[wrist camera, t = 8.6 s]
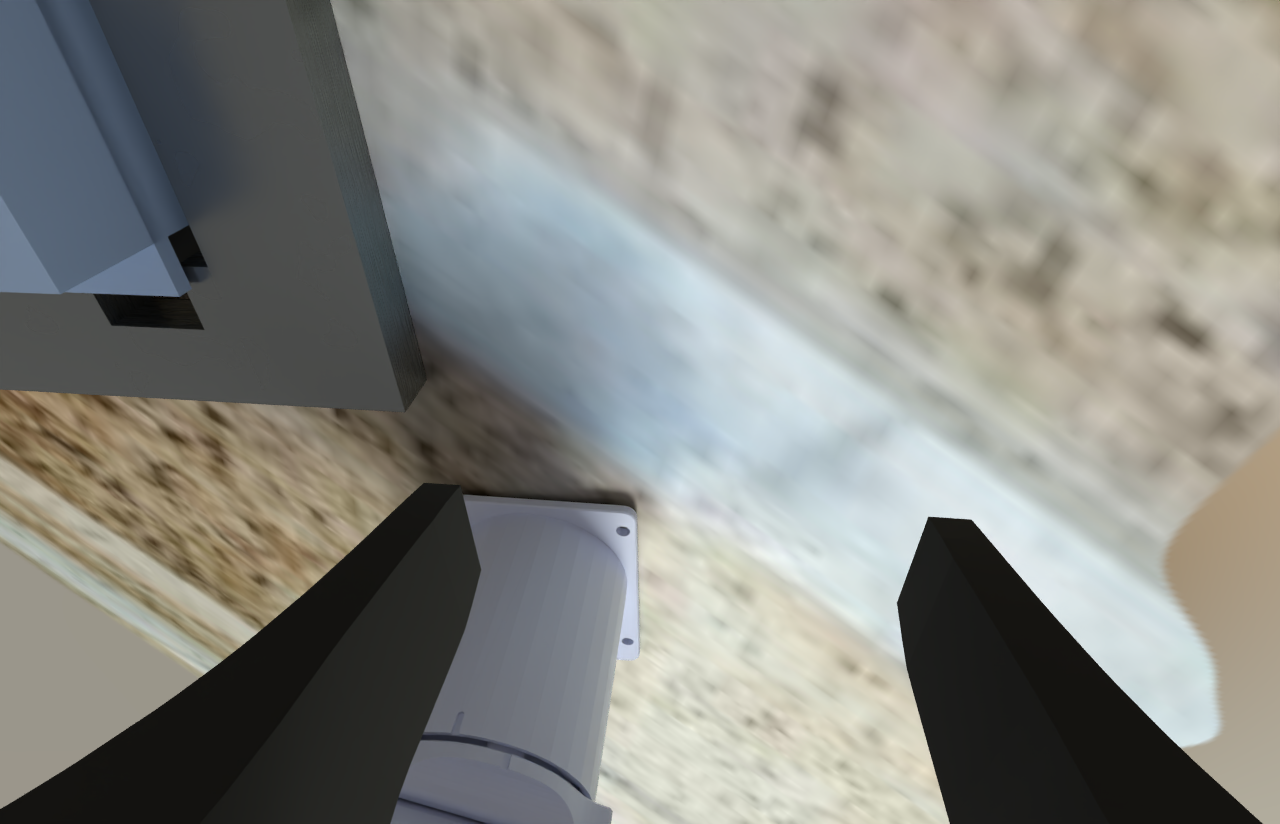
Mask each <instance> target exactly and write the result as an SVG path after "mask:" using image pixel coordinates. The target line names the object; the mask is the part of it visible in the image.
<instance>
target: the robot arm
mask: <svg viewBox="0 0 1280 824" xmlns="http://www.w3.org/2000/svg"><path fill="white" fill-rule="evenodd" d="M622 526H623V527H627V528H621V527H622ZM897 606H898V613H899V620H900V627H901V635H902V641H903V647H904V654H905V660H906V666H907V671H908V674H909V678H910V682H911V686H912V689H913V693H914V697H915V700H916V704H917V708H918V711H919V715H920V719H921V722H922V726H923V729H924V733H925V736H926V740H927V744H928V747H929V751H930V754H931V758H932V761H933V765H934V769H935V772H936V776H937V779H938V783H939V786H940V790H941V793H942V797H943V801H944V804H945V808H946V811H947V815H948V818H949V822H950V824H1262V823H1261V822H1260V821H1259V820H1258V819H1257V818H1256V817H1255V816H1254V815H1252V814H1251V813H1250V812H1249V811H1248V810H1247V809H1246V808H1245V807H1244V806H1243V805H1241V804H1240V803H1239V802H1238V801H1237V800H1236V799H1235V798H1234V797H1233V796H1232V795H1231V794H1229V793H1228V792H1227V791H1226V790H1225V789H1224V788H1223V787H1222V786H1221V785H1220V784H1218V783H1217V782H1216V781H1215V780H1214V779H1213V778H1212V777H1211V776H1210V775H1209V774H1208V773H1206V772H1205V771H1204V770H1203V769H1202V768H1201V767H1200V766H1199V765H1198V764H1197V763H1195V762H1194V761H1193V760H1192V759H1191V758H1190V757H1189V756H1188V755H1187V754H1186V753H1185V752H1184V751H1183V750H1182V749H1181V748H1180V747H1179V746H1178V745H1177V744H1176V743H1175V742H1174V741H1172V740H1171V739H1170V738H1169V737H1168V736H1167V735H1166V734H1165V733H1164V732H1163V731H1162V730H1161V729H1160V728H1159V727H1158V726H1157V725H1156V724H1155V723H1154V722H1153V721H1152V720H1151V719H1150V718H1149V717H1148V716H1147V715H1146V714H1145V713H1144V712H1143V711H1142V710H1141V709H1140V708H1139V707H1138V705H1137V704H1136V703H1135V702H1134V701H1133V700H1132V699H1131V698H1130V697H1129V696H1128V695H1127V694H1126V693H1125V692H1124V691H1123V690H1122V689H1121V688H1120V687H1119V686H1118V685H1117V684H1116V683H1115V682H1114V681H1113V680H1112V679H1111V678H1110V677H1109V676H1108V675H1107V674H1106V673H1105V671H1104V670H1103V669H1102V668H1101V667H1100V666H1099V665H1098V664H1097V663H1096V662H1095V661H1094V660H1093V659H1092V657H1091V656H1090V655H1089V654H1088V653H1087V652H1086V651H1085V650H1084V649H1083V648H1082V646H1081V645H1080V644H1079V643H1078V642H1077V641H1076V640H1075V639H1074V638H1073V637H1072V635H1071V634H1070V633H1069V632H1068V631H1067V630H1066V629H1065V628H1064V627H1063V625H1062V624H1061V623H1060V622H1059V621H1058V620H1057V619H1056V618H1055V617H1054V615H1053V614H1052V613H1051V612H1050V611H1049V610H1048V609H1047V607H1046V606H1045V605H1044V604H1043V603H1042V602H1041V601H1040V599H1039V598H1038V597H1037V596H1036V595H1035V594H1034V592H1033V591H1032V590H1031V589H1030V588H1029V587H1028V585H1027V584H1026V583H1025V582H1024V581H1023V580H1022V578H1021V577H1020V576H1019V575H1018V574H1017V573H1016V571H1015V570H1014V569H1013V568H1012V567H1011V565H1010V564H1009V563H1008V562H1007V561H1006V560H1005V558H1004V557H1003V556H1002V555H1001V554H1000V553H999V551H998V550H997V549H996V548H995V547H994V545H993V544H992V543H991V542H990V541H989V540H988V538H987V537H986V536H985V535H984V534H983V533H982V531H981V530H980V529H979V528H978V527H977V526H976V524H975V523H974V522H973V521H972V520H969V519H954V518H939V517H928V520H927V522H926V525H925V528H924V531H923V533H922V536H921V539H920V542H919V544H918V547H917V550H916V552H915V555H914V558H913V561H912V563H911V566H910V569H909V572H908V574H907V577H906V580H905V583H904V585H903V588H902V591H901V594H900V596H899V599H898V602H897ZM639 654H640V620H639V576H638V531H637V514H636V512H635V511H634V510H633V509H632V508H630V507H628V506H623V505H608V504H593V503H579V502H564V501H550V500H535V499H520V498H506V497H491V496H476V495H463V494H462V490H461V486H460V485H447V484H432V483H423V484H422V485H421V486H420V487H419V488H418V489H417V490H416V491H415V492H413V493H412V494H411V495H410V496H409V497H408V498H407V499H406V500H405V501H404V502H403V503H402V504H400V505H399V506H398V507H397V508H396V509H395V510H394V511H393V512H392V513H391V514H390V515H389V516H388V517H387V518H386V519H385V520H384V521H383V522H382V523H380V524H379V525H378V526H377V527H376V528H375V529H374V530H373V531H372V532H371V533H370V534H369V535H368V536H367V537H366V538H365V539H364V540H362V541H361V542H360V543H359V544H358V545H357V546H356V547H355V548H354V549H353V550H352V551H351V552H350V553H349V554H347V555H346V556H345V557H344V558H343V559H342V560H341V561H340V562H339V563H338V564H336V565H335V566H334V567H333V568H332V569H331V570H330V571H329V572H328V573H327V574H326V575H324V576H323V577H322V578H321V579H320V580H319V581H318V582H317V583H316V584H315V585H313V586H312V587H311V588H310V589H309V590H308V591H307V592H305V593H304V594H303V595H302V596H301V597H300V598H299V599H297V600H296V601H295V602H294V603H293V604H291V605H290V606H289V607H288V608H287V609H285V610H284V611H283V612H282V613H281V614H280V615H278V616H277V617H276V618H275V619H274V620H272V621H271V622H270V623H269V624H268V625H267V626H265V627H264V628H263V629H262V630H261V631H259V632H258V633H257V634H256V635H255V636H253V637H252V638H251V639H250V640H248V641H247V642H246V643H245V644H243V645H242V646H241V647H240V648H238V649H237V650H236V651H235V652H233V653H232V654H231V655H230V656H228V657H227V658H226V659H224V660H223V661H222V662H221V663H219V664H218V665H217V666H215V667H214V668H213V669H211V670H210V671H209V672H207V673H206V674H204V675H203V676H202V677H200V678H199V679H198V680H196V681H195V682H194V683H192V684H191V685H190V686H188V687H187V688H185V689H184V690H183V691H182V692H180V693H179V694H177V695H176V696H175V697H173V698H172V699H170V700H169V701H168V702H166V703H165V704H163V705H162V706H160V707H159V708H158V709H156V710H155V711H153V712H152V713H150V714H149V715H147V716H146V717H144V718H143V719H141V720H140V721H138V722H136V723H135V724H134V725H132V726H130V727H129V728H128V729H126V730H125V731H123V732H121V733H120V734H119V735H117V736H115V737H114V738H112V739H111V740H109V741H108V742H106V743H105V744H104V745H102V746H100V747H99V748H97V749H96V750H94V751H93V752H91V753H90V754H88V755H87V756H85V757H84V758H83V759H81V760H79V761H78V762H76V763H75V764H73V765H72V766H70V767H69V768H67V769H65V770H64V771H62V772H61V773H59V774H57V775H56V776H54V777H52V778H51V779H49V780H48V781H46V782H44V783H43V784H41V785H40V786H38V787H36V788H35V789H33V790H31V791H30V792H28V793H26V794H25V795H23V796H22V797H20V798H19V799H17V800H15V801H13V802H12V803H10V804H8V805H7V806H5V807H3V808H2V809H0V824H611V820H612V812H613V811H612V810H611V808H609V807H606V806H603V805H600V804H598V803H596V802H595V799H596V793H597V786H598V779H599V773H600V766H601V759H602V753H603V746H604V740H605V733H606V726H607V720H608V713H609V707H610V700H611V693H612V687H613V680H614V674H615V667H616V660H617V659H618V660H635V659H637V658H638V657H639Z"/></svg>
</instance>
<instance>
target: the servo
mask: <svg viewBox="0 0 1280 824" xmlns="http://www.w3.org/2000/svg"><path fill="white" fill-rule="evenodd" d="M199 251H200V248H199V246H198V244H197V242H196V239H195V237H194V235H193V233H192V230H191V228H190V226H189V224H188V221H187V219H186V217H185V215H184V212H183V210H182V208H181V206H180V203H179V201H178V199H177V197H176V194H175V192H174V190H173V188H172V185H171V183H170V181H169V179H168V177H167V174H166V172H165V170H164V168H163V165H162V163H161V161H160V159H159V156H158V154H157V152H156V150H155V147H154V145H153V143H152V141H151V138H150V136H149V134H148V132H147V129H146V127H145V125H144V123H143V120H142V118H141V116H140V114H139V111H138V109H137V107H136V105H135V102H134V100H133V98H132V96H131V94H130V91H129V89H128V87H127V85H126V82H125V80H124V78H123V76H122V73H121V71H120V69H119V67H118V64H117V62H116V60H115V58H114V55H113V53H112V51H111V49H110V46H109V44H108V42H107V40H106V37H105V35H104V33H103V31H102V28H101V26H100V24H99V22H98V19H97V17H96V15H95V13H94V10H93V8H92V6H91V4H90V2H89V0H0V292H17V293H42V294H62V293H64V292H70V293H96V294H121V295H147V296H172V297H180V296H182V295H183V294H185V293H186V292H188V291H189V290H191V289H192V288H191V286H190V283H189V281H188V279H187V277H186V275H185V273H184V271H183V269H182V266H181V264H180V262H182V261H184V260H185V259H187V258H189V257H190V256H192V255H194V254H195V253H197V252H199Z"/></svg>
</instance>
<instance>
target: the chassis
mask: <svg viewBox="0 0 1280 824" xmlns="http://www.w3.org/2000/svg"><path fill="white" fill-rule="evenodd" d="M89 2H90V4H91V6H92V8H93V10H94V13H95V15H96V17H97V19H98V22H99V24H100V26H101V28H102V31H103V33H104V35H105V37H106V40H107V42H108V44H109V46H110V49H111V51H112V53H113V55H114V58H115V60H116V62H117V64H118V67H119V69H120V71H121V73H122V76H123V78H124V80H125V82H126V85H127V87H128V89H129V91H130V94H131V96H132V98H133V100H134V102H135V105H136V107H137V109H138V111H139V114H140V116H141V118H142V120H143V123H144V125H145V127H146V129H147V132H148V134H149V136H150V138H151V141H152V143H153V145H154V147H155V150H156V152H157V154H158V156H159V159H160V161H161V163H162V165H163V168H164V170H165V172H166V174H167V177H168V179H169V181H170V183H171V185H172V188H173V190H174V192H175V194H176V197H177V199H178V201H179V203H180V206H181V208H182V210H183V212H184V215H185V217H186V219H187V221H188V224H189V226H190V228H191V230H192V233H193V235H194V237H195V239H196V242H197V244H198V246H199V248H200V251H199V252H197V253H195V254H194V255H192V256H190V257H189V258H187V259H185V260H184V261H182V262H180V264H181V266H182V269H183V271H184V273H185V275H186V277H187V279H188V281H189V283H190V286H191V288H192V289H191V290H189V291H188V292H187V294H188V296H189V298H190V300H184V299H160V298H154V297H153V296H147V295H121V294H96V293H70V292H64V293H62V294H42V293H17V292H0V389H3V390H21V391H39V392H56V393H74V394H92V395H110V396H127V397H145V398H163V399H180V400H198V401H216V402H234V403H251V404H269V405H287V406H305V407H322V408H340V409H358V410H375V411H393V412H406V410H407V409H408V407H409V406H410V404H411V403H412V401H413V400H414V398H415V397H416V395H417V394H418V392H419V391H420V389H421V388H422V386H423V385H424V383H425V382H426V380H427V379H426V375H425V371H424V367H423V364H422V360H421V356H420V352H419V348H418V344H417V340H416V336H415V332H414V328H413V324H412V321H411V317H410V313H409V309H408V305H407V301H406V297H405V293H404V289H403V285H402V282H401V278H400V274H399V270H398V266H397V262H396V258H395V254H394V250H393V246H392V242H391V239H390V235H389V231H388V227H387V223H386V219H385V215H384V211H383V207H382V203H381V199H380V196H379V192H378V188H377V184H376V180H375V176H374V172H373V168H372V164H371V160H370V156H369V153H368V149H367V145H366V141H365V137H364V133H363V129H362V125H361V121H360V117H359V114H358V110H357V106H356V102H355V98H354V94H353V90H352V86H351V82H350V78H349V74H348V71H347V67H346V63H345V59H344V55H343V51H342V47H341V43H340V39H339V35H338V31H337V28H336V24H335V20H334V16H333V12H332V8H331V4H330V0H89Z"/></svg>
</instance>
